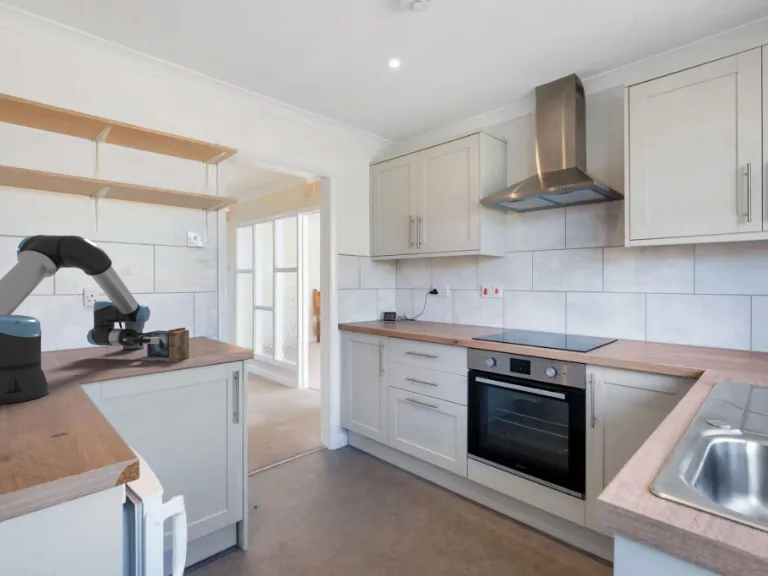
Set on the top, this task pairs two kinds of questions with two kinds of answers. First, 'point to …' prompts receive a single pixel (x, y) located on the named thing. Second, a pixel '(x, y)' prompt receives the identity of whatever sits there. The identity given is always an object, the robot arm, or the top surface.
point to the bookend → (175, 346)
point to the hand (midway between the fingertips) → (169, 338)
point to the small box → (163, 345)
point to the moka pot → (139, 329)
